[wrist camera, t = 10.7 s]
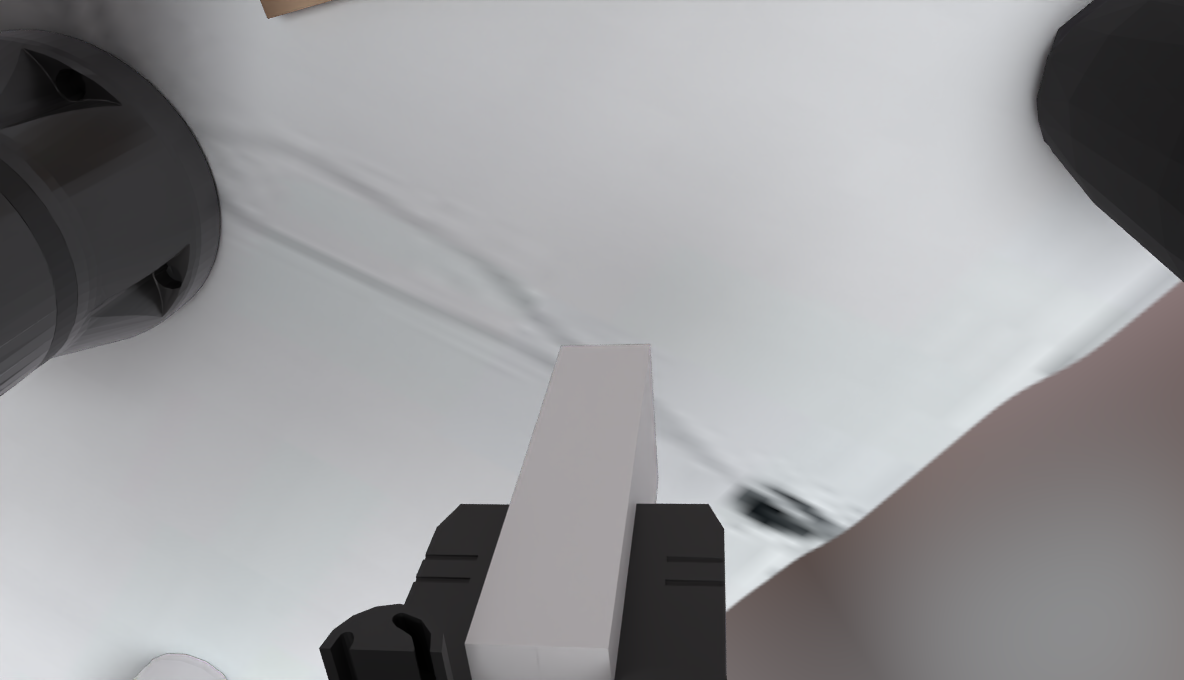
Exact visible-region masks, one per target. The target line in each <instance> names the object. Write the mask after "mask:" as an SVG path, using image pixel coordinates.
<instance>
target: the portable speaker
mask: <svg viewBox="0 0 1184 680" xmlns="http://www.w3.org/2000/svg"><path fill="white" fill-rule="evenodd" d="M1037 107H1038V120H1039V124H1040V127H1041V131H1042V134H1043V138H1044V141H1045V142H1046V143H1047V144H1048V145H1049V146H1050V148H1051V150H1052V152H1053V153H1054V154H1055V155H1056V157H1057V158H1058V159H1059V160H1060V162H1061V163H1062V164H1063V165H1064V167H1065V168H1066V169H1067V170H1068V172H1069V173H1070V174H1071V175H1072V177H1073V178H1074V179H1075V180H1076V182H1077V183H1078V184H1079V185H1080V187H1081V188H1082V189H1083V190H1084V192H1085V193H1086V194H1087V195H1088V196H1089V198H1090V199H1091V200H1092V201H1093V203H1094V204H1095V205H1097V206H1098V207H1099V208H1100V209H1101V210H1102V211H1103V212H1105V213H1106V214H1107V215H1108V216H1109V217H1110V218H1111V219H1113V220H1114V221H1115V222H1116V223H1117V224H1118V225H1119V226H1120V227H1122V228H1123V229H1124V230H1125V231H1126V232H1127V233H1128V234H1130V235H1131V236H1132V237H1133V238H1134V239H1135V240H1136V241H1138V242H1139V243H1140V244H1141V245H1142V246H1143V247H1144V248H1145V249H1147V250H1148V251H1149V252H1150V253H1151V254H1152V255H1153V256H1155V257H1156V258H1157V259H1158V260H1159V261H1160V262H1161V263H1163V264H1164V265H1165V266H1166V267H1167V268H1168V269H1169V270H1170V271H1172V272H1173V273H1174V274H1175V275H1176V276H1177V277H1178V278H1180V279H1181V280H1182V281H1183V282H1184V0H1094V1H1093V2H1091V3H1090V4H1089V5H1088V6H1087V7H1085V8H1084V9H1083V10H1082V11H1080V12H1079V13H1078V14H1077V15H1075V16H1074V17H1073V18H1072V19H1071V20H1069V21H1068V22H1067V23H1066V24H1064V25H1063V26H1062V27H1061V28H1060V29H1059V30H1058V33H1057V35H1056V38H1055V41H1054V44H1053V47H1052V50H1051V53H1050V55H1049V56H1048V58H1047V62H1046V66H1045V70H1044V74H1043V77H1042V81H1041V85H1040V89H1039V93H1038V97H1037Z"/></svg>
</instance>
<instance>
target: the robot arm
mask: <svg viewBox="0 0 1184 680" xmlns="http://www.w3.org/2000/svg"><path fill="white" fill-rule="evenodd" d="M219 233H220V217H219V206H218V199H217V194H216V190H215V186H214V182H213V179H212V176H211V173H210V170H209V167H208V165H207V162H206V160H205V158H204V155H203V153H202V151H201V149H200V147H199V145H198V144H197V142H196V140H195V138H194V137H193V135H192V133H191V132H190V130H189V129H188V127H187V126H186V124H185V123H184V121H183V120H182V118H181V117H180V116H179V114H178V113H177V112H176V111H175V109H174V108H173V107H172V106H171V105H170V103H169V102H168V101H167V100H166V99H165V98H164V97H163V96H162V95H161V94H160V93H159V92H158V91H157V90H156V89H155V88H154V87H153V86H152V85H151V84H150V83H149V82H148V81H147V80H145V79H144V78H143V77H142V76H141V75H140V74H138V73H137V72H136V71H134V70H133V69H132V68H130V67H129V66H128V65H126V64H125V63H123V62H122V61H120V60H119V59H117V58H115V57H114V56H112V55H110V54H108V53H107V52H105V51H103V50H101V49H99V48H97V47H95V46H93V45H90V44H88V43H86V42H83V41H81V40H78V39H75V38H72V37H69V36H65V35H61V34H58V33H52V32H47V31H39V30H10V31H4V32H0V396H2V395H3V394H4V393H5V392H7V391H8V390H9V389H11V388H12V387H13V386H15V385H16V384H17V383H19V382H20V381H21V380H22V379H24V378H25V377H26V376H28V375H29V374H30V373H31V372H33V371H34V370H35V369H37V368H38V367H39V366H41V365H42V364H44V363H45V362H46V361H48V360H49V359H50V358H54V357H57V356H61V355H65V354H69V353H73V352H77V351H81V350H85V349H89V348H93V347H96V346H100V345H104V344H108V343H112V342H116V341H120V340H124V339H128V338H131V337H134V336H136V335H139V334H141V333H143V332H145V331H147V330H149V329H151V328H153V327H155V326H157V325H158V324H160V323H161V322H163V321H164V320H165V319H167V318H168V317H169V316H170V315H172V314H173V313H174V312H175V311H176V310H178V309H179V308H180V307H181V306H183V305H184V304H185V303H186V302H187V301H189V300H190V299H191V298H192V297H193V296H194V295H195V294H196V292H197V291H198V290H199V289H200V287H201V286H202V285H203V283H204V281H205V280H206V278H207V276H208V274H209V272H210V270H211V268H212V265H213V263H214V260H215V256H216V253H217V248H218V243H219ZM657 487H658V465H657V448H656V432H655V415H654V398H653V382H652V365H651V349H650V344H626V345H566V346H561V348H560V351H559V354H558V357H557V360H556V363H555V366H554V370H553V373H552V376H551V379H550V382H549V385H548V388H547V391H546V394H545V397H544V400H543V403H542V407H541V410H540V413H539V416H538V419H537V422H536V425H535V428H534V431H533V434H532V437H531V440H530V444H529V447H528V450H527V453H526V456H525V459H524V462H523V465H522V468H521V471H520V474H519V477H518V481H517V484H516V487H515V490H514V493H513V496H512V499H511V502H510V505H497V504H460V505H459V506H458V507H457V508H456V509H455V510H454V511H453V512H452V513H451V514H450V515H449V516H448V517H447V518H446V519H445V520H444V521H443V522H442V523H441V524H440V525H439V526H438V527H437V528H436V531H435V533H434V535H433V538H432V540H431V542H430V545H429V547H428V550H427V552H426V558H425V560H423V561H422V564H421V566H420V568H419V571H418V573H417V576H416V582H414V583H413V585H412V587H411V590H410V592H409V594H408V597H407V599H406V601H405V604H404V605H403V604H394V605H386V606H377V607H374V608H371V609H369V610H366V611H364V612H361V613H359V614H356V615H353V616H352V617H350V618H349V619H348V620H346V621H345V622H343V623H342V624H341V625H339V626H338V627H337V628H335V629H334V630H333V631H332V632H331V633H330V635H329V636H328V637H327V639H326V640H325V641H324V643H323V644H322V645H321V647H320V648H319V649H320V653H321V656H322V659H323V662H324V666H325V669H326V672H327V676H328V679H329V680H727V676H726V604H725V553H724V528H723V527H722V525H721V523H720V522H719V520H718V519H717V517H716V515H715V514H714V512H713V511H712V509H711V507H710V506H709V504H656V498H657Z"/></svg>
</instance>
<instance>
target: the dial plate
mask: <svg viewBox="0 0 1184 680" xmlns="http://www.w3.org/2000/svg"><path fill="white" fill-rule="evenodd" d="M260 1H261V3H262V6H263V8H264V11H265V13H266V16H267V18H268V19H269V18H272V17H276V16H279V15H283V14H286V13H290V12H293V11H297V10H300V9H304V8H307V7H311V6H314V5H318V4H321V3H325V2H328V1H332V0H260Z"/></svg>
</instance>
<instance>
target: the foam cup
mask: <svg viewBox="0 0 1184 680" xmlns="http://www.w3.org/2000/svg"><path fill="white" fill-rule="evenodd" d="M133 680H227V679H226V678H225V676H224V675H223V674H222V673H221V672H220V671H218V670H217V669H216V668H214V667H213V666H212V665H210V664H209V663H208V662H206V661H203V660H200V659H198V658H195V657H192V656H189V655H187V654H165V655H162V656H160V657H157V658H155V659H152V661H151V662H150V664H149V665H147V666H146V667H145V668H144V669H143V670H142V671H141V672H140V673H139V674H138V675H137V676H136V677H135V678H134V679H133Z"/></svg>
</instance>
